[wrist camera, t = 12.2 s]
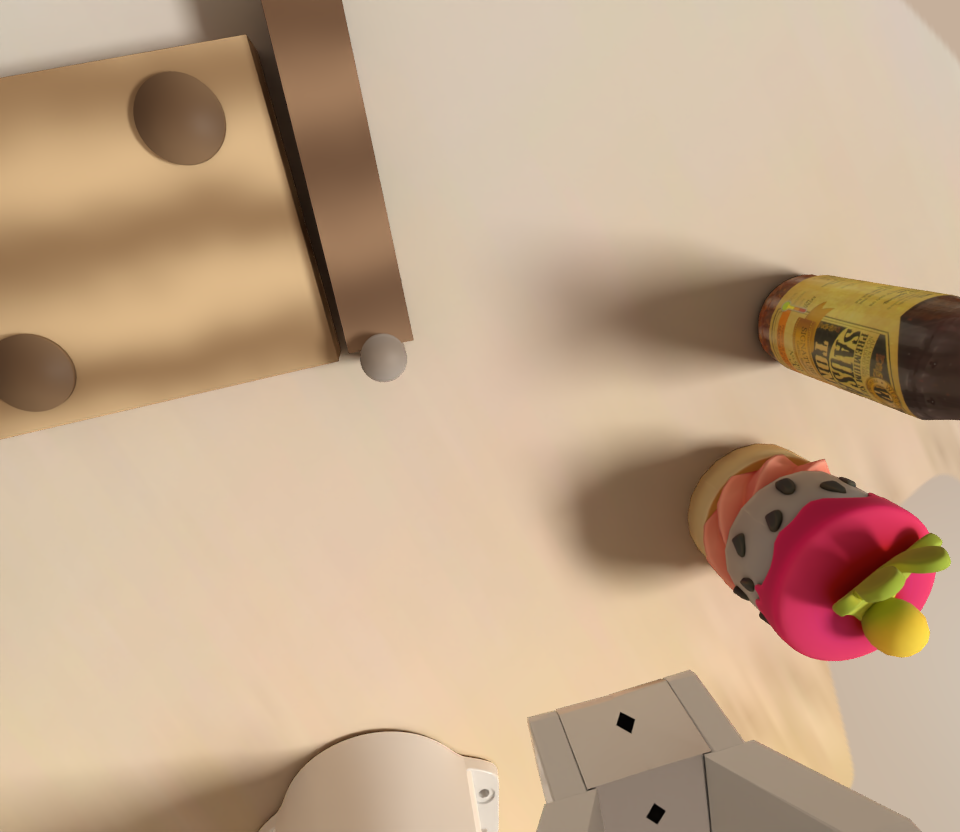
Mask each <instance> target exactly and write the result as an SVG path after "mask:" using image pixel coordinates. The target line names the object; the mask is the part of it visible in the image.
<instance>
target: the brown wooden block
mask: <svg viewBox="0 0 960 832" xmlns="http://www.w3.org/2000/svg"><path fill="white" fill-rule="evenodd" d="M261 2H262V6H263V10H264V14H265V18H266V22H267V26H268V30H269V34H270V38H271V42H272V46H273V50H274V54H275V58H276V62H277V67H278V71H279V75H280V79H281V83H282V87H283V91H284V95H285V99H286V103H287V107H288V111H289V115H290V119H291V123H292V127H293V131H294V135H295V139H296V143H297V147H298V151H299V155H300V159H301V163H302V167H303V171H304V175H305V179H306V183H307V187H308V191H309V195H310V199H311V203H312V207H313V211H314V215H315V219H316V223H317V227H318V232H319V236H320V240H321V244H322V248H323V252H324V256H325V260H326V264H327V268H328V272H329V276H330V280H331V284H332V288H333V292H334V296H335V300H336V304H337V308H338V312H339V316H340V320H341V324H342V328H343V332H344V336H345V340H346V344H347V348H348V352H349V353H353V352H358V351H361V357H360V362H361V366H362V369H363V370H364V372H365V373H366V375H368V376H369V377H370V378H371V379H373V380H376V381H379V382H389V381H392V380H395V379H396V378H398V377H399V376H400V375H401V374H402V373H403V371H404V370H405V367H406V364H407V355H406V351H405V348H404V344H403V342H407V341H412V340H413V335H412V330H411V325H410V321H409V316H408V311H407V307H406V302H405V297H404V292H403V288H402V283H401V278H400V273H399V269H398V264H397V259H396V255H395V250H394V245H393V240H392V236H391V231H390V226H389V221H388V217H387V212H386V207H385V202H384V198H383V193H382V188H381V184H380V179H379V174H378V169H377V165H376V160H375V155H374V150H373V146H372V141H371V136H370V132H369V127H368V122H367V117H366V113H365V108H364V103H363V98H362V94H361V89H360V84H359V79H358V75H357V70H356V65H355V61H354V56H353V51H352V46H351V42H350V37H349V32H348V27H347V23H346V18H345V13H344V9H343V4H342V0H261Z"/></svg>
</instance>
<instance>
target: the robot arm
mask: <svg viewBox="0 0 960 832" xmlns="http://www.w3.org/2000/svg"><path fill="white" fill-rule="evenodd" d="M527 723H528V727H529V732H530V736H531V741H532V746H533V750H534V755H535V759H536V764H537V768H538V772H539V776H540V780H541V785H542V789H543V793H544V797H545V800H546V804H544V808H543V811H542V814H541V818H540V821H539V824H538V828H537V831H536V832H921V831H920V830H919V829H918V827H917V826H916V825H915V824H914V823H913V822H912V821H911V820H910V819H908V818H907V817H904V816H903V815H901V814H899V813H897V812H895V811H893V810H891V809H889V808H887V807H885V806H883V805H881V804H879V803H877V802H875V801H873V800H871V799H869V798H867V797H865V796H863V795H861V794H859V793H857V792H855V791H853V790H851V789H849V788H847V787H845V786H843V785H841V784H839V783H838V782H836V781H834V780H832V779H830V778H828V777H826V776H824V775H822V774H820V773H818V772H816V771H814V770H812V769H810V768H808V767H806V766H804V765H802V764H800V763H798V762H796V761H794V760H792V759H790V758H788V757H786V756H784V755H782V754H780V753H778V752H776V751H774V750H772V749H770V748H768V747H767V746H765V745H763V744H761V743H759V742H757V741H755V740H751V741H747V742H744V740H743V739H742V737H741V736H740V735H739V733H738V732H737V731H736V729H735V728H734V726H733V725H732V724H731V722H730V721H729V719H728V718H727V717H726V715H725V714H724V713H723V711H722V710H721V708H720V707H719V706H718V704H717V703H716V701H715V700H714V699H713V697H712V696H711V695H710V693H709V692H708V690H707V689H706V688H705V686H704V685H703V684H702V682H701V681H700V679H699V678H698V677H697V675H696V674H695V673H694V672H692V671H691V670H688V671H684V672H681V673H678V674H675V675H671V676H668V677H665V678H663V679H658V680H655V681H652V682H648V683H645V684H642V685H639V686H635V687H632V688H629V689H626V690H622V691H619V692H616V693H613V694H609V695H608V696H604V697H600V698H596V699H593V700H589V701H585V702H581V703H578V704H574V705H570V706H566V707H563V708H559V709H556V711H555V710H554V711H550V712H546V713H543V714H539V715H535V716H531V717H527ZM258 832H499V777H498V769H497V767H496V766H495V765H494V764H493V763H491V762H489V761H486V760H482V759H477V758H471V757H464V756H462V755H459V754H457V753H456V752H454V751H452V750H451V749H449V748H448V747H446V746H444V745H443V744H441V743H439V742H437V741H435V740H433V739H430V738H428V737H425V736H421V735H418V734H413V733H407V732H376V733H369V734H364V735H360V736H356V737H353V738H350V739H347V740H344V741H342V742H339V743H337V744H335V745H333V746H331V747H329V748H327V749H326V750H324V751H322V752H321V753H320V754H318V755H317V756H315V757H314V758H313V759H312V760H310V761H309V762H308V763H307V764H306V765H305V766H304V767H303V768H302V769H301V770H300V771H299V773H298V774H297V775H296V776H295V778H294V779H293V781H292V782H291V784H290V786H289V788H288V790H287V792H286V795H285V797H284V800H283V802H282V805H281V807H280V809H279V810H278V812H277V813H276V814H275V815H274V816H273V817H272V818H271V819H269V820H268V821H267V822H266V823H265V824H264V825H263V826H262V828H261V829H260V830H259V831H258Z"/></svg>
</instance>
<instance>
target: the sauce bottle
mask: <svg viewBox="0 0 960 832" xmlns="http://www.w3.org/2000/svg"><path fill="white" fill-rule="evenodd" d="M758 334H759V341H760V342H761V343H762V348H763V349H764V350H765V351H766V352H767V353H768V354H769V355H770V356H772V357H773V358H774V359H775V360H777V361H779V362H780V363H781V364H782V365H783V366H785V367H787V368H789V369H791V370H794V371H796V372H799V373H802V374H804V375H807V376H809V377H812V378H815V379H817V380H820V381H823V382H825V383H828V384H831V385H833V386H836V387H838V388H840V389H843V390H846V391H848V392H851V393H854V394H857V395H859V396H862V397H865V398H868V399H870V400H873V401H875V402H878V403H880V404H883V405H885V406H888V407H890V408H893V409H896V410H898V411H901V412H903V413H906V414H908V415H911V416H914V417H916V418H919V419H922V420H960V297H958V296H954V295H948V294H942V293H936V292H930V291H924V290H917V289H910V288H904V287H898V286H892V285H885V284H879V283H873V282H867V281H861V280H855V279H848V278H842V277H836V276H830V275H821V276H816V275H801V276H797V277H793V278H792V279H789V280H787V281H784V282H783V283H782V284H781V285H779V286H777V287H776V288H775V289H774V290H773V291H772V292H771V293H770V295H769V296H768V297H767V298H766V300H765V302H764V304H763V306H762V309H761V311H760V314H759V324H758Z"/></svg>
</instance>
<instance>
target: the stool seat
mask: <svg viewBox="0 0 960 832" xmlns="http://www.w3.org/2000/svg"><path fill="white" fill-rule="evenodd" d="M340 352H341V349H340V345H339V342H338V338H337V334H336V331H335V327H334V324H333V320H332V317H331V313H330V309H329V306H328V302H327V299H326V295H325V292H324V288H323V284H322V281H321V277H320V274H319V270H318V267H317V263H316V259H315V256H314V252H313V249H312V245H311V242H310V238H309V234H308V231H307V227H306V224H305V220H304V217H303V213H302V209H301V206H300V202H299V199H298V195H297V192H296V188H295V184H294V181H293V177H292V174H291V170H290V167H289V163H288V159H287V156H286V152H285V149H284V145H283V142H282V138H281V134H280V131H279V127H278V124H277V120H276V117H275V113H274V109H273V106H272V102H271V99H270V95H269V92H268V88H267V84H266V81H265V77H264V74H263V70H262V67H261V63H260V59H259V56H258V52H257V50H256V48H255V47H254V46H253V44H252V43H251V41H250V40H249V38H248V37H247V35H246V34H245V35H240V36H234V37H229V38H223V39H217V40H212V41H206V42H200V43H195V44H189V45H183V46H178V47H172V48H166V49H161V50H155V51H150V52H144V53H138V54H133V55H127V56H121V57H116V58H110V59H104V60H99V61H93V62H88V63H82V64H76V65H71V66H65V67H59V68H54V69H48V70H42V71H37V72H31V73H26V74H20V75H14V76H9V77H3V78H0V439H5V438H9V437H13V436H18V435H22V434H26V433H31V432H35V431H39V430H43V429H48V428H52V427H56V426H61V425H65V424H69V423H74V422H78V421H82V420H87V419H91V418H95V417H100V416H104V415H108V414H113V413H117V412H121V411H126V410H130V409H134V408H138V407H143V406H147V405H151V404H156V403H160V402H164V401H169V400H173V399H177V398H182V397H186V396H190V395H195V394H199V393H203V392H208V391H212V390H216V389H220V388H225V387H229V386H233V385H238V384H242V383H246V382H251V381H255V380H259V379H264V378H268V377H272V376H277V375H281V374H285V373H290V372H294V371H298V370H303V369H307V368H311V367H315V366H320V365H324V364H328V363H333V362H337V361H339V357H340Z"/></svg>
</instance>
